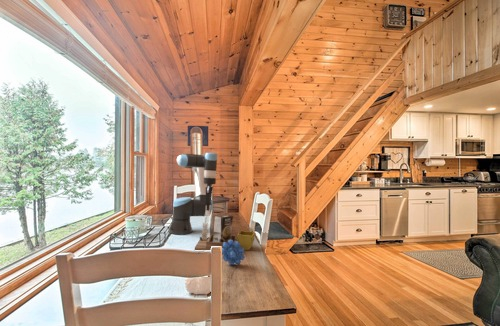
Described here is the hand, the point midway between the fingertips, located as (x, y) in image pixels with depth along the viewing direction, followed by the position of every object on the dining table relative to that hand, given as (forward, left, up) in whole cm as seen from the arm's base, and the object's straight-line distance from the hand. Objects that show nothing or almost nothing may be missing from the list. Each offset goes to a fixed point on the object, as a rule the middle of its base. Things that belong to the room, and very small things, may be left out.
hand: (207, 215), depth 152 cm
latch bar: (+7, 0, -9) cm, 11 cm away
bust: (+61, +8, -16) cm, 64 cm away
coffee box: (+11, +11, -14) cm, 21 cm away
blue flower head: (+37, +18, -16) cm, 44 cm away
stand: (+12, +8, -16) cm, 21 cm away
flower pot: (+12, +24, -16) cm, 31 cm away
